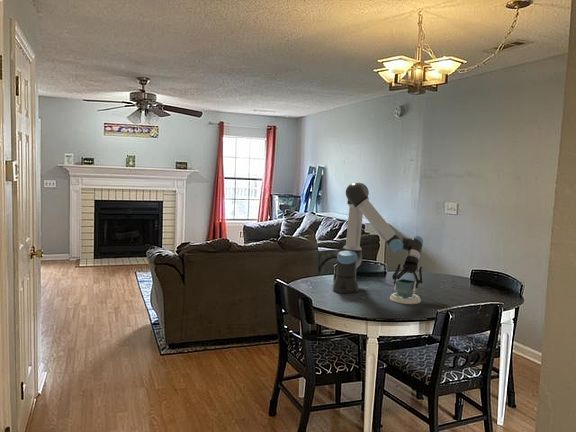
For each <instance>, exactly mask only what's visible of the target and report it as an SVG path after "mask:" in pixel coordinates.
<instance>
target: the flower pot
mask: <svg viewBox="0 0 576 432" xmlns="http://www.w3.org/2000/svg"><path fill="white" fill-rule="evenodd" d="M415 281H416V280H409V279H404V278H403V279H401V278H400V279H399V280H398V281H396V293H398V295H399V296H400V297H405V298H409V297H411V296H412V294H413V288H414V283H415Z"/></svg>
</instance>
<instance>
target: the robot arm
mask: <svg viewBox="0 0 576 432" xmlns="http://www.w3.org/2000/svg"><path fill="white" fill-rule="evenodd" d="M369 191H370V190H369V188H368V186H367V185H366V184H364V183H362V182H353V183H350V184H348V186H347V187H346V189H345V196H346V199H347V203H346V204H347V205H348V207H349V210H348V220H347V221H348V222H347V230H346V239H345V240H346V241H345V245H343V247H342V250H340V251H338V253H337V257H336V276H335V280H334V283H333V286H332V291H334V292H335V293H338V294H339V293H340V294H348V295H349V294H356V293H359V286H358V282H357V281H358V280H357V269H358V267H360V266H361V264H362V262H363V257H362V253H363V252H362V249H363V248H362V247H361V246H360V245H361V237H362V226H363V218H365V219H367V221H368V222H369V224H370V225H371V226H372V227H373V228H374V230H375V231H376V232H377V233H378V234H379V235H380V237H381V239H383V240H384V241H385V243H386V244H387V245H388V248H389V250H390V251H391V252H393V253H400V252H401V251H402V250H404V251H407V252H406V256H405V260H404V263H403V264H401V263H399V264H397V265H398V266H397V267H396V269H395V270H394V273H393V274H392V277H391V278H392V280H393V285H394V287H393V290H394V292H397V290H396V281H398V280H401V278H402V277H403V276H404V275H406V273H407V274H413V277H414V279H415V280H414V281H415V283H414V288H413V294H415V295H416V290H417V289H418V288H419V285H420V284H423V282H424V281H423V267H422V266H420V267H419V266H418V265H419V260H420V257H421V254H422V250H423V249H422V248H423V247H424V246H423V245H424V239H423V238H422V237H421V236H419V235H412V236H411V238H410V237H409V238H408V237H406V236H400V235H397V234H396V232H395V231H394V230H393V228H392V227H391V226H390V225H389V224H388V222H387V221H386V219H384V217H383V216H382V215H381V214H380V212H379V211H378V210H377V209H376V208H375V207H374V205H373V204H372V203H371V202H370V200H369V199H370V197H369V195H370V194H369ZM363 216H364V217H363ZM417 270H418V272H419V277H418V276H417V273H416V271H417Z"/></svg>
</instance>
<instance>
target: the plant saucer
mask: <svg viewBox="0 0 576 432" xmlns="http://www.w3.org/2000/svg"><path fill="white" fill-rule="evenodd" d="M389 300H390V301H392V302H394V303H397V304H404V305H417V304H421V301H422V300H421V298H420V296H419V295H418V294H416V293H415V294H412V296H411V297H409V298H405V297H400V296H399V295H398V293H397V292H393V293H391V295H390V296H389Z"/></svg>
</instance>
